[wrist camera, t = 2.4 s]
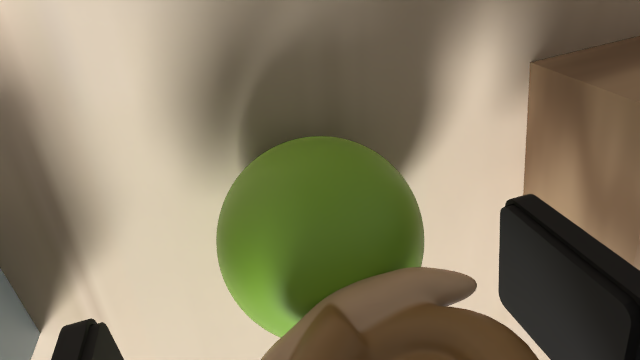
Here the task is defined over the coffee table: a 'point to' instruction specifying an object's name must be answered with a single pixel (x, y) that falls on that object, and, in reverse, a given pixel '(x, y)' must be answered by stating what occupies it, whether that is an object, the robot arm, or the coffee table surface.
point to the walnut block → (589, 141)
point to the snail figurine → (345, 262)
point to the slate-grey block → (15, 325)
